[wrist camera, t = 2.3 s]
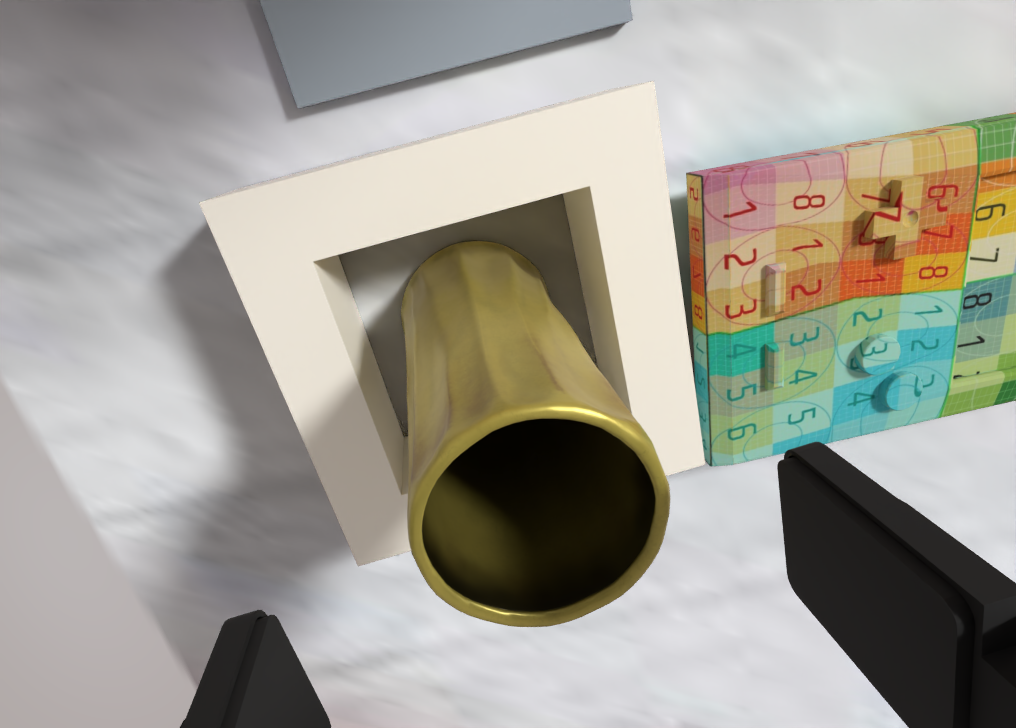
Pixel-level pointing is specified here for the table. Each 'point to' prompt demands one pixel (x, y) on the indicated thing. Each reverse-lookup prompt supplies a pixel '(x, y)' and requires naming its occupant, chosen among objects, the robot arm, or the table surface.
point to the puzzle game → (853, 288)
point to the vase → (519, 449)
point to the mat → (414, 37)
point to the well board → (442, 201)
